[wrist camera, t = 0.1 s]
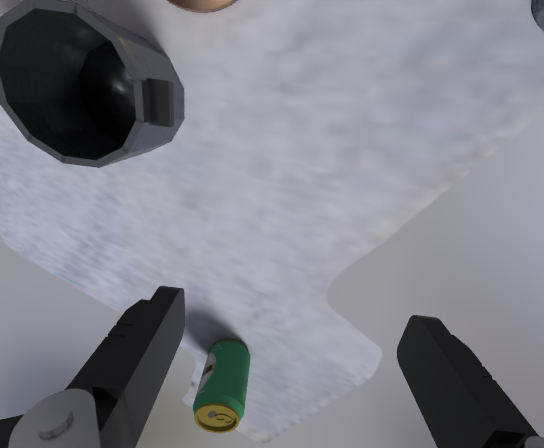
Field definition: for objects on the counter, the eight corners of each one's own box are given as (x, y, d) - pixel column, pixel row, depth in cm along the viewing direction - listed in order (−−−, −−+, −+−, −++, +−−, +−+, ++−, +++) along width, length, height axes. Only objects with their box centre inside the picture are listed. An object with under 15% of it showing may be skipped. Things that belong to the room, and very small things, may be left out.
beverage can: (220, 331, 49) (202, 395, 38) (258, 347, 50) (252, 414, 39) (203, 357, 52) (182, 424, 41) (239, 372, 53) (229, 441, 42)
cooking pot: (55, 25, 30) (-55, -16, 20) (199, 45, 31) (159, 15, 21) (75, 141, 36) (-5, 154, 26) (197, 157, 36) (165, 176, 26)
